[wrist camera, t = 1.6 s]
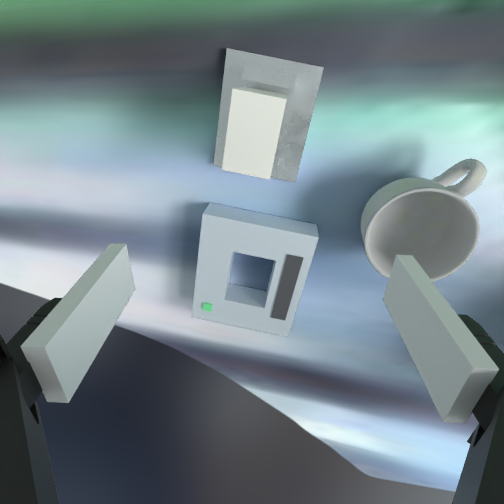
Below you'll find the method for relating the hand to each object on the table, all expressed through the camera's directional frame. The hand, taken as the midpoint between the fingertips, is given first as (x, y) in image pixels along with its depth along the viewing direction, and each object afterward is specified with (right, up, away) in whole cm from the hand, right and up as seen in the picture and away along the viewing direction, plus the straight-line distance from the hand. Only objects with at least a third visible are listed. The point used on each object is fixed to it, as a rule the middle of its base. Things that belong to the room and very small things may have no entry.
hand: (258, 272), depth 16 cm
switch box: (0, -1, +29) cm, 29 cm away
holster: (+1, +16, +20) cm, 25 cm away
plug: (+1, +16, +19) cm, 25 cm away
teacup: (+19, +7, +23) cm, 30 cm away
